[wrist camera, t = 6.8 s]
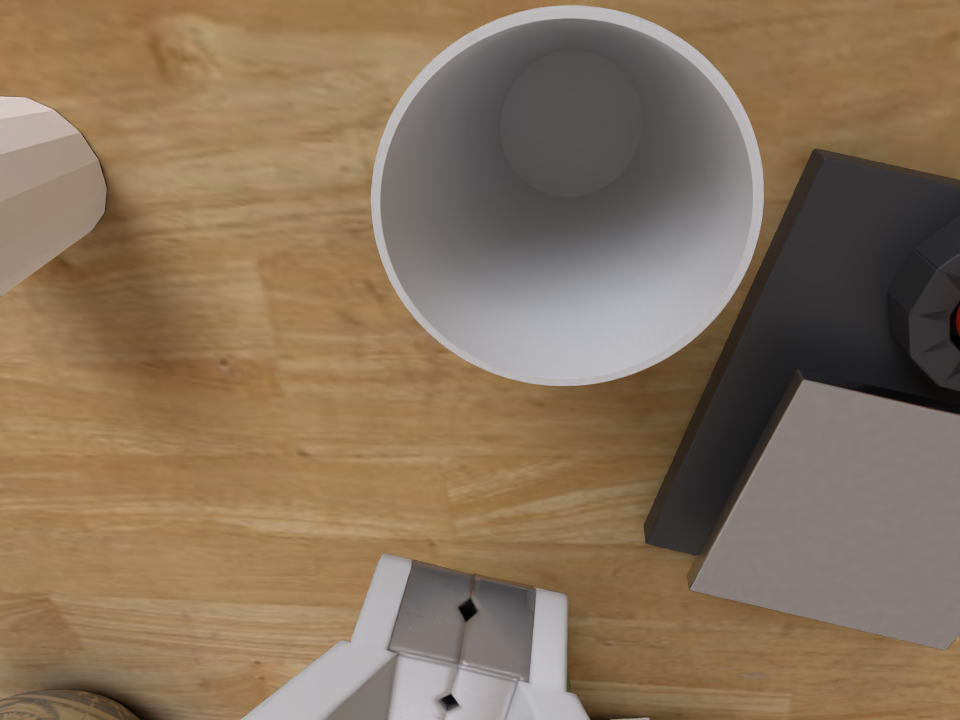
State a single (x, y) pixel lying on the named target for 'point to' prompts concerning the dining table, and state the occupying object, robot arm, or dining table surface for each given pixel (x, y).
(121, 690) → the dining table surface
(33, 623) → the dining table surface
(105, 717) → the ceramic bowl
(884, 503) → the scale platter
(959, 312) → the button
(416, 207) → the cup
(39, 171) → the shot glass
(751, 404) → the scale
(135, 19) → the dining table surface
